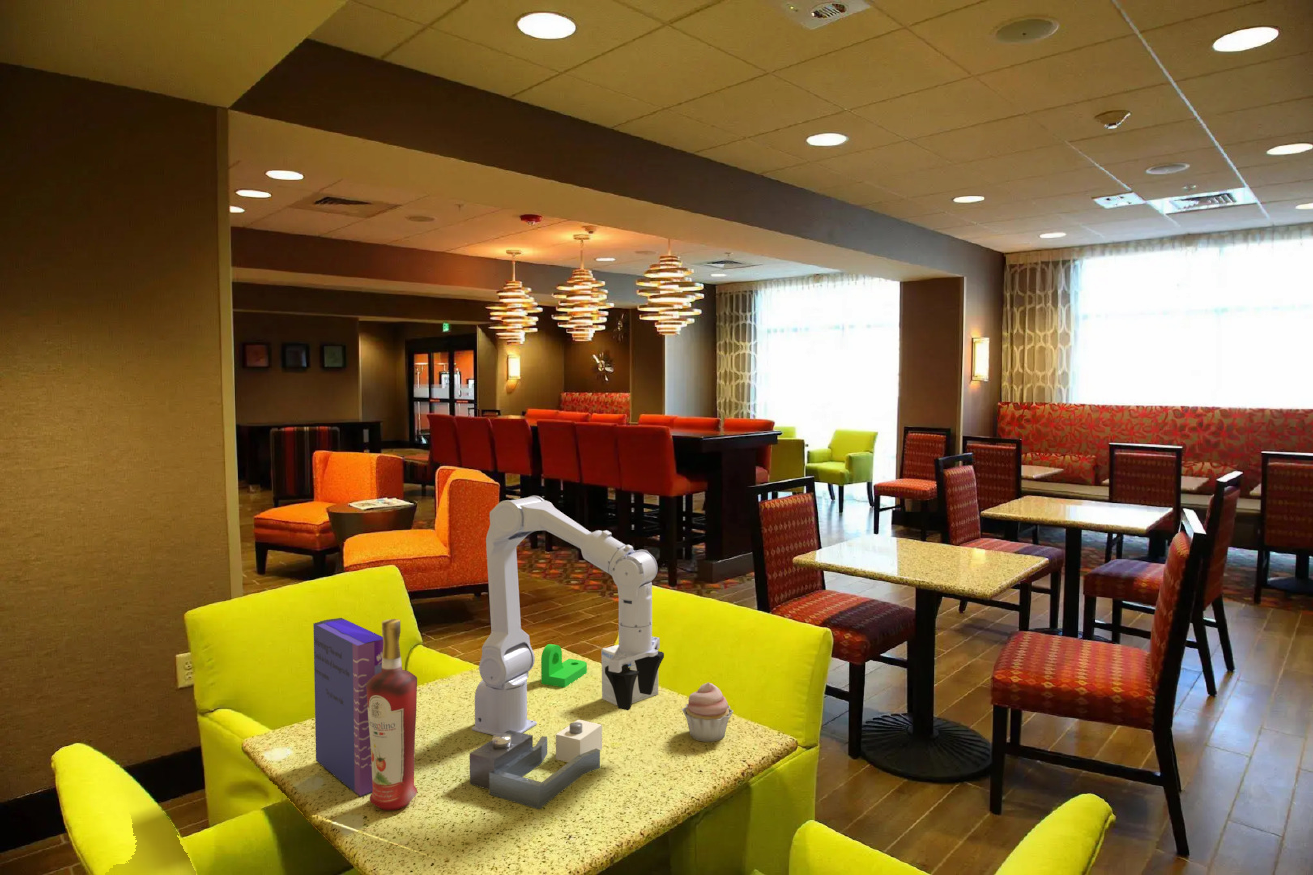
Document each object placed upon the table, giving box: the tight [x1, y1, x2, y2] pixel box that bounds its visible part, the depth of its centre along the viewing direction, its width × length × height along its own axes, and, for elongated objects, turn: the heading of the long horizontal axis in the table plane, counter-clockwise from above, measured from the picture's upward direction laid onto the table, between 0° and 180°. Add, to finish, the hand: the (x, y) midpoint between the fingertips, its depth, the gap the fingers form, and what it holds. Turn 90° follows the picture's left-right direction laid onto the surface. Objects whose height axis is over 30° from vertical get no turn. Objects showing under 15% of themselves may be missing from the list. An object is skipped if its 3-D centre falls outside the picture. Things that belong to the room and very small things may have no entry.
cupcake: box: [681, 682, 734, 743], centre depth 139 cm, size 9×9×10 cm
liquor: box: [366, 618, 418, 812], centre depth 115 cm, size 7×7×28 cm
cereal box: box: [313, 617, 384, 798], centre depth 125 cm, size 17×5×24 cm, turn 45°
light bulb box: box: [600, 644, 659, 707], centre depth 158 cm, size 11×7×11 cm, turn 133°
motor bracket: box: [469, 730, 601, 810], centre depth 124 cm, size 16×16×6 cm
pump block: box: [555, 719, 603, 763], centre depth 132 cm, size 5×7×6 cm
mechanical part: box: [540, 643, 588, 688], centre depth 171 cm, size 12×6×8 cm, turn 156°
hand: (635, 701), depth 130 cm, fingers open, 7 cm apart
